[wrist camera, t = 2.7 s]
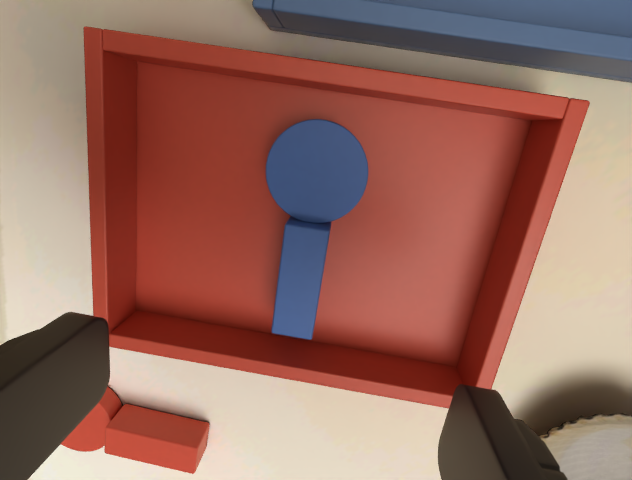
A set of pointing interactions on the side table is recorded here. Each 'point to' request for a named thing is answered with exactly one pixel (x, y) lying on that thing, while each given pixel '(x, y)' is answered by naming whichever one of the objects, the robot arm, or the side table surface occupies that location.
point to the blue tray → (476, 29)
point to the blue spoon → (310, 211)
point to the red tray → (346, 232)
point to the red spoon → (141, 434)
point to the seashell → (593, 447)
